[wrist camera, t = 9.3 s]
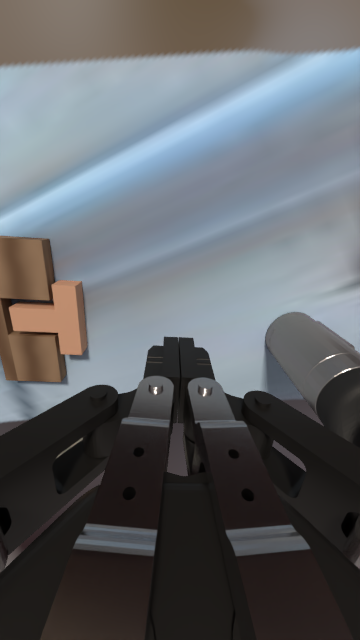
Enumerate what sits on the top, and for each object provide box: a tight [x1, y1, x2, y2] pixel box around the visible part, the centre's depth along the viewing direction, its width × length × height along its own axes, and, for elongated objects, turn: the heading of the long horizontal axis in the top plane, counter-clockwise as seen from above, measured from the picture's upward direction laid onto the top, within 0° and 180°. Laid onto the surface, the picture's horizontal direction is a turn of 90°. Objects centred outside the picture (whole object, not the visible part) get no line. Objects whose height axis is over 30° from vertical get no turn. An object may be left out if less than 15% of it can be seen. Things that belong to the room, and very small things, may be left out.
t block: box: [9, 280, 87, 355], centre depth 41 cm, size 10×12×3 cm
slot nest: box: [0, 236, 66, 382], centre depth 41 cm, size 10×24×2 cm, turn 176°
